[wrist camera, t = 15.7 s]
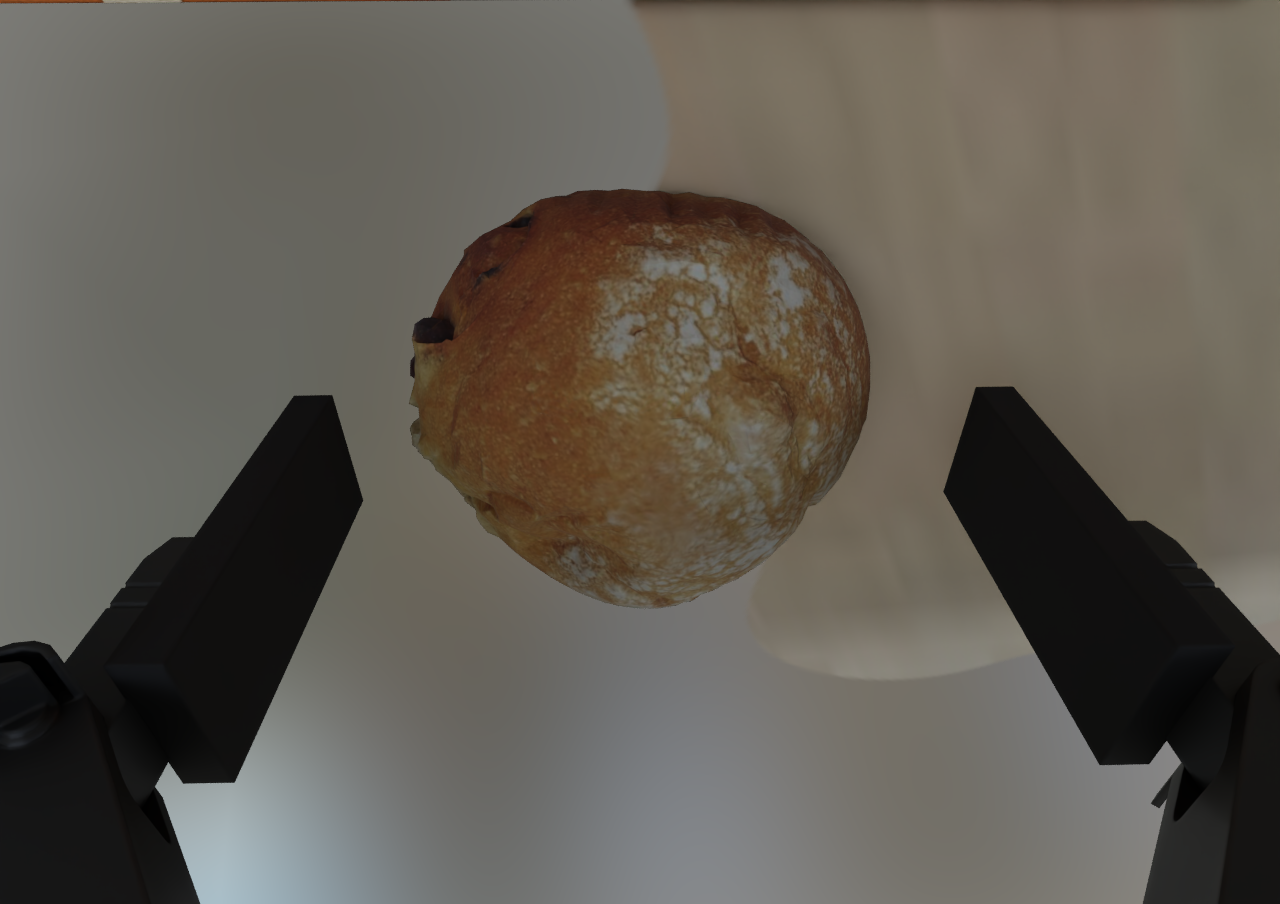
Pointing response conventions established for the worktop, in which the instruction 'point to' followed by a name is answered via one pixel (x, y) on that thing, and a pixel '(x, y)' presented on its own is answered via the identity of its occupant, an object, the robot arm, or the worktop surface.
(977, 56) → the worktop surface
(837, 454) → the bread roll
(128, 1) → the tea towel
